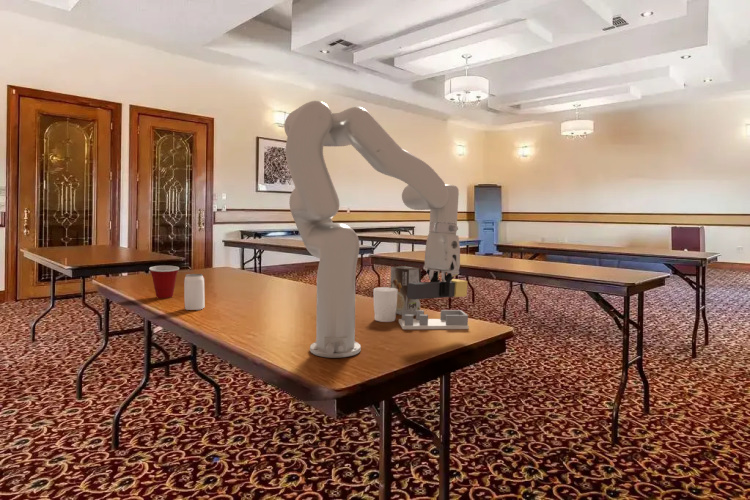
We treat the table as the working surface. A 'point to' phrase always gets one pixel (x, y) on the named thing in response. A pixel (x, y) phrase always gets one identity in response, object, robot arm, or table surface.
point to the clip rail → (435, 320)
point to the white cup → (385, 303)
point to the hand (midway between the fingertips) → (439, 294)
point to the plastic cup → (164, 280)
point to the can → (194, 292)
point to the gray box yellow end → (436, 289)
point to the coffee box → (405, 287)
